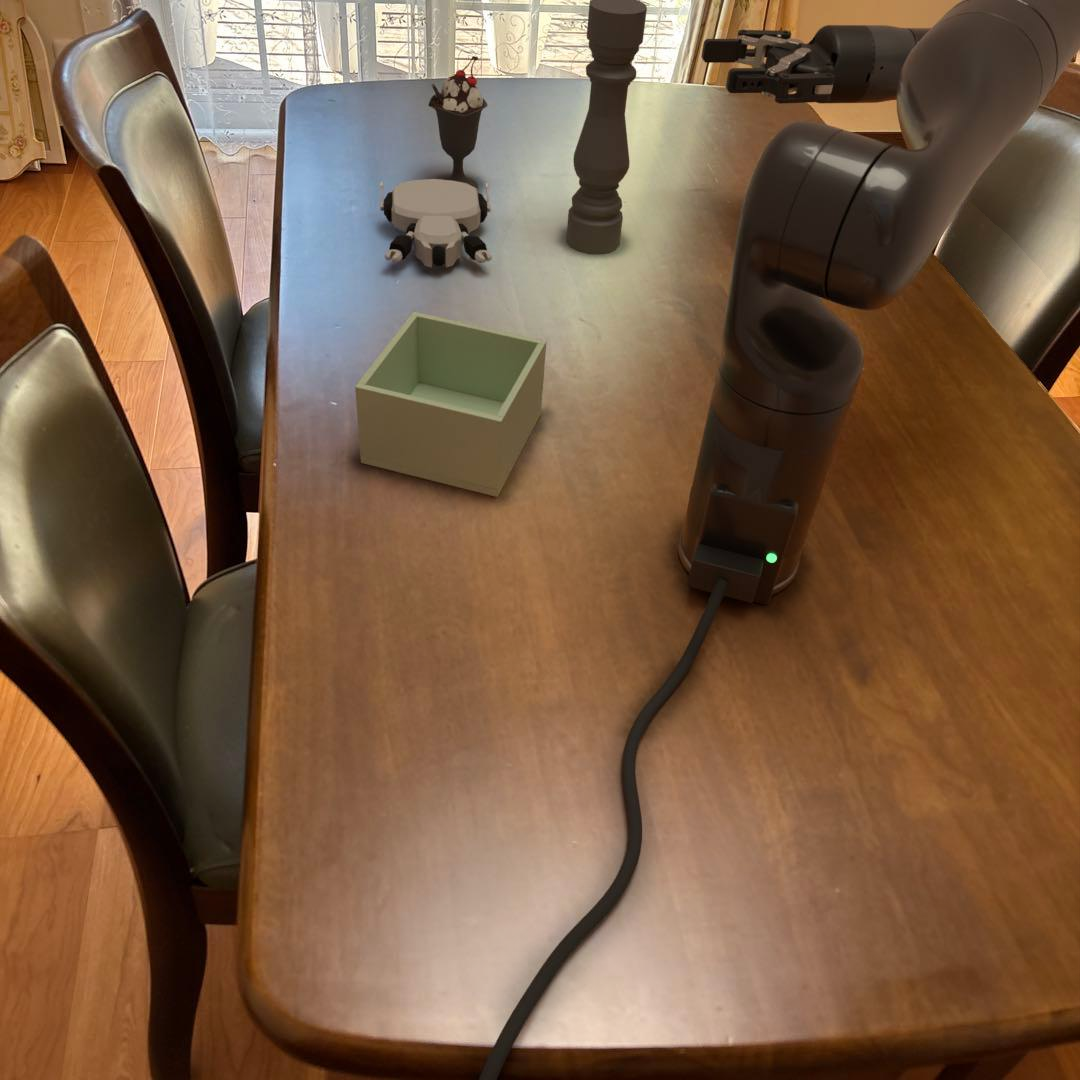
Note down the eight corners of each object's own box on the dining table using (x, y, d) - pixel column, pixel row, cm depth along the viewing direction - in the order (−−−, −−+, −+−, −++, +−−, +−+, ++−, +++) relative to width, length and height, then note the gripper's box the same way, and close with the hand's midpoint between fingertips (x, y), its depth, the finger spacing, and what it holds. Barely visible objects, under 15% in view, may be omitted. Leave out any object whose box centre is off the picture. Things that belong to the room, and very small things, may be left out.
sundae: (495, 184, 126) (500, 56, 116) (464, 202, 122) (465, 72, 112) (452, 169, 129) (452, 43, 118) (420, 187, 124) (417, 58, 114)
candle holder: (615, 257, 115) (645, 18, 97) (561, 249, 115) (581, 9, 98) (623, 232, 119) (653, -1, 102) (571, 224, 120) (592, -9, 103)
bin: (497, 497, 84) (501, 421, 79) (360, 463, 86) (354, 386, 81) (540, 414, 93) (546, 340, 87) (415, 384, 95) (413, 311, 89)
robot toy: (496, 284, 110) (486, 210, 120) (497, 247, 107) (488, 175, 117) (381, 284, 109) (381, 209, 119) (379, 246, 106) (379, 173, 115)
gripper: (843, 4, 111) (701, 4, 108) (899, 51, 101) (744, 51, 98) (826, 76, 116) (689, 77, 113) (877, 127, 106) (729, 129, 103)
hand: (715, 65), depth 106 cm, fingers open, 8 cm apart
